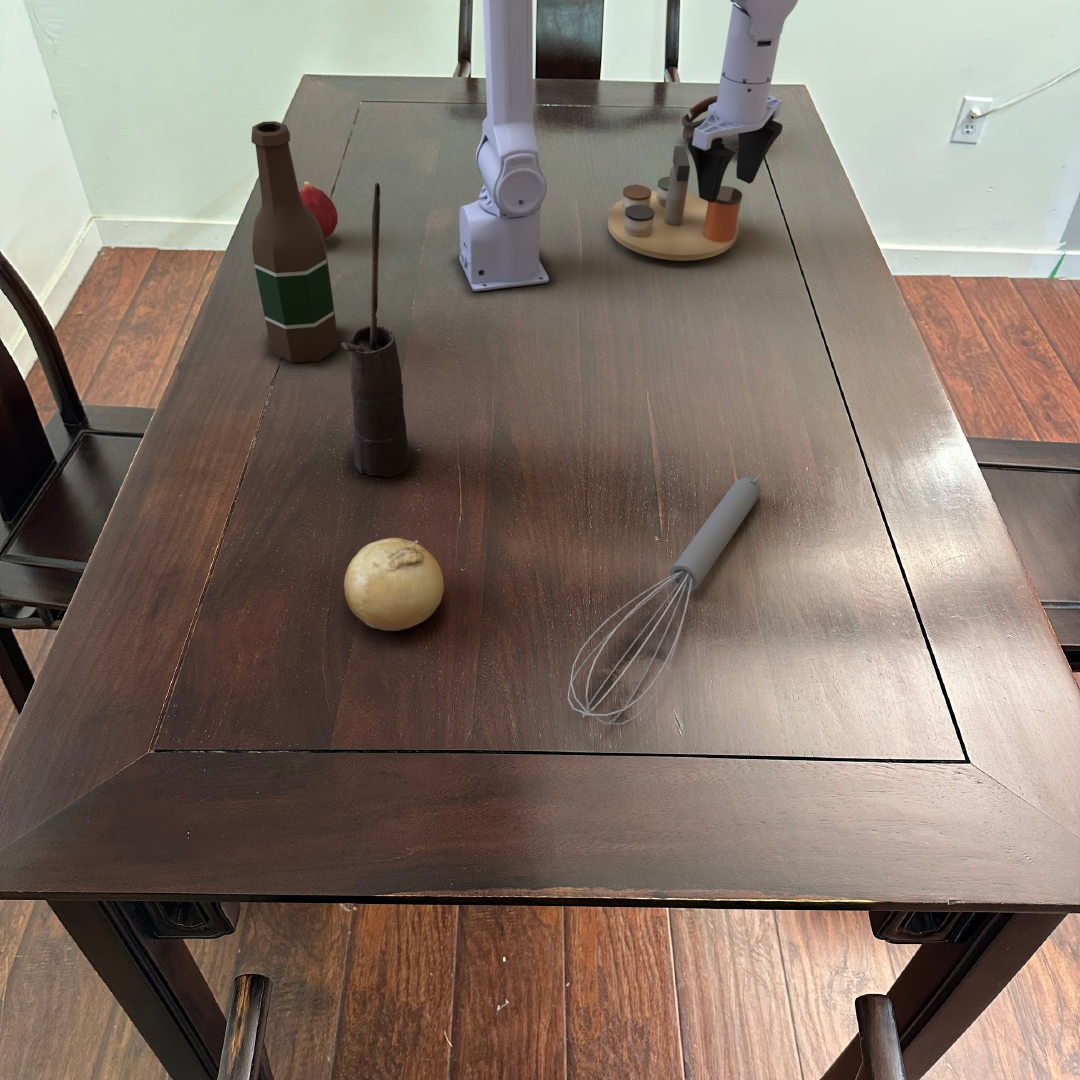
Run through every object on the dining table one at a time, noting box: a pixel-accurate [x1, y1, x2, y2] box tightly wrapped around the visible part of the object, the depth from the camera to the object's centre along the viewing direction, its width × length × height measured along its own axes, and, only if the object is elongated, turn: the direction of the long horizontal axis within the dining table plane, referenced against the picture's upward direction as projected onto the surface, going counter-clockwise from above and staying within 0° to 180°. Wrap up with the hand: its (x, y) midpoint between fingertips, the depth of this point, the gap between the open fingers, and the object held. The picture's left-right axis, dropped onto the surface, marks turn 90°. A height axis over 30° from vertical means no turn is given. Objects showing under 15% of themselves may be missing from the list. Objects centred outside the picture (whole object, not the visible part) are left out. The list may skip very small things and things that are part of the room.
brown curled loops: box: [681, 95, 739, 151], centre depth 145 cm, size 12×9×8 cm
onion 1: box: [299, 180, 339, 240], centre depth 119 cm, size 6×6×8 cm
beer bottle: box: [251, 120, 339, 364], centre depth 98 cm, size 8×8×24 cm
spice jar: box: [703, 185, 743, 242], centre depth 121 cm, size 4×4×6 cm
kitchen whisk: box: [567, 472, 761, 728], centre depth 80 cm, size 6×34×6 cm, turn 149°
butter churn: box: [340, 182, 410, 478], centre depth 83 cm, size 9×10×28 cm
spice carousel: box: [606, 145, 740, 262], centre depth 122 cm, size 17×17×10 cm
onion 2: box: [343, 537, 445, 632], centre depth 78 cm, size 8×8×7 cm
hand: (726, 189), depth 119 cm, fingers open, 7 cm apart
